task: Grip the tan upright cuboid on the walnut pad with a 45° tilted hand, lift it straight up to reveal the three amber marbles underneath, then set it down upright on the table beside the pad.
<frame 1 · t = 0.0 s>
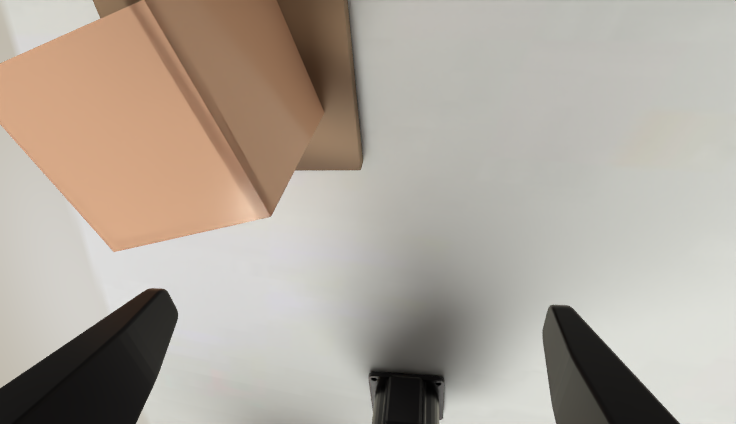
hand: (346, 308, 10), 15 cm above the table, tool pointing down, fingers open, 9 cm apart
walnut pad: (238, 60, 22), on the table
tan upright cuboid: (189, 100, 17), on the walnut pad, point 6 cm above the table
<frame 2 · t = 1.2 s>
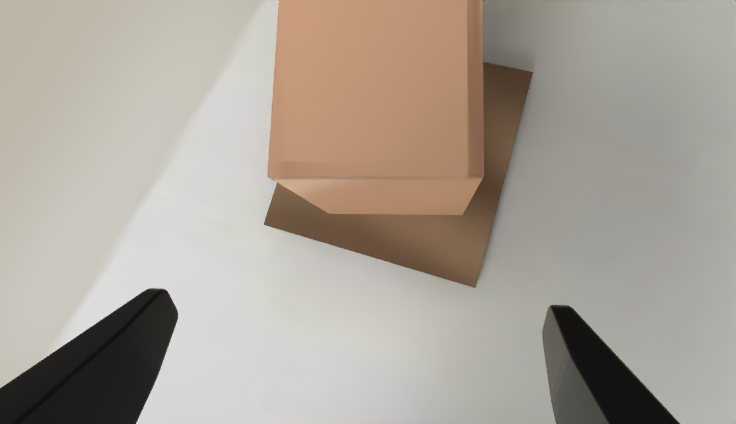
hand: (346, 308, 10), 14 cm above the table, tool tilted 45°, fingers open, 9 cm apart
walnut pad: (396, 154, 24), on the table
tan upright cuboid: (387, 120, 19), on the walnut pad, point 6 cm above the table
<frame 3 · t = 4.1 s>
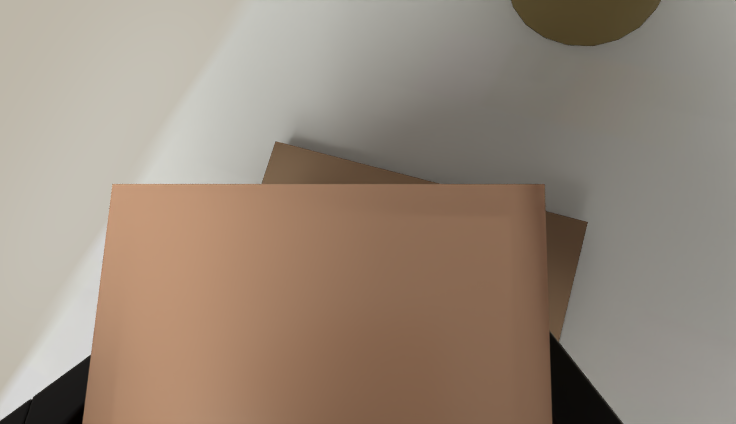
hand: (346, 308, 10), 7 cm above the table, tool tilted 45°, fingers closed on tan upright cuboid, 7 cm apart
walnut pad: (378, 332, 16), on the table
tan upright cuboid: (353, 360, 11), on the walnut pad, point 6 cm above the table, touching gripper
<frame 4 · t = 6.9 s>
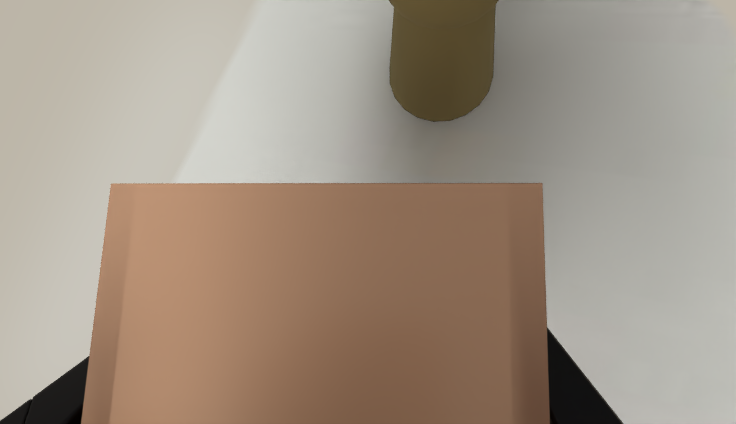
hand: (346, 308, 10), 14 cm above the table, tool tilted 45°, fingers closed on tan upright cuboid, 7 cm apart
olive rounded upright piece: (440, 74, 25), on the table
tan upright cuboid: (351, 360, 11), point 12 cm above the table, touching gripper
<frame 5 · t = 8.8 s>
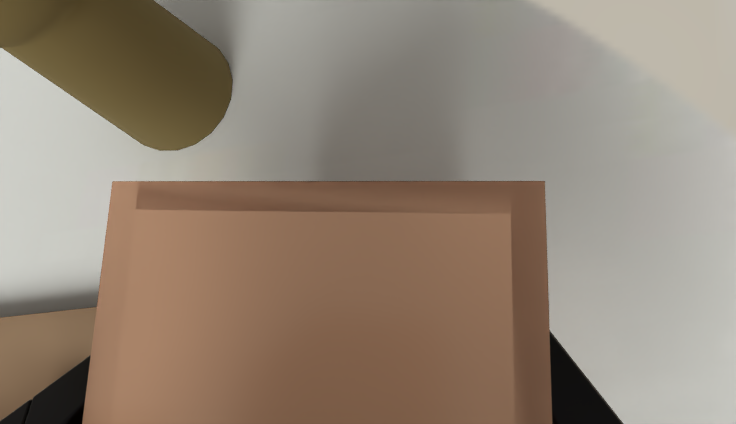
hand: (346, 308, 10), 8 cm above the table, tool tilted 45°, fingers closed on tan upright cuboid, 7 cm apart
olive rounded upright piece: (176, 93, 21), on the table
tan upright cuboid: (353, 359, 11), point 7 cm above the table, touching gripper
when the fingers open (7 cm above the table, at t = 10.1 s): tan upright cuboid drops 1 cm, on the table.
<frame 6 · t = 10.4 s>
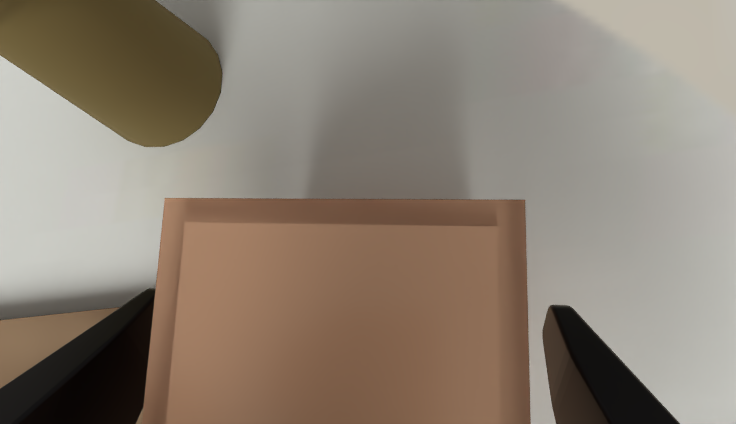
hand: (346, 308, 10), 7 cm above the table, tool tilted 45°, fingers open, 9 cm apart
olive rounded upright piece: (164, 86, 20), on the table
tan upright cuboid: (363, 349, 12), on the table
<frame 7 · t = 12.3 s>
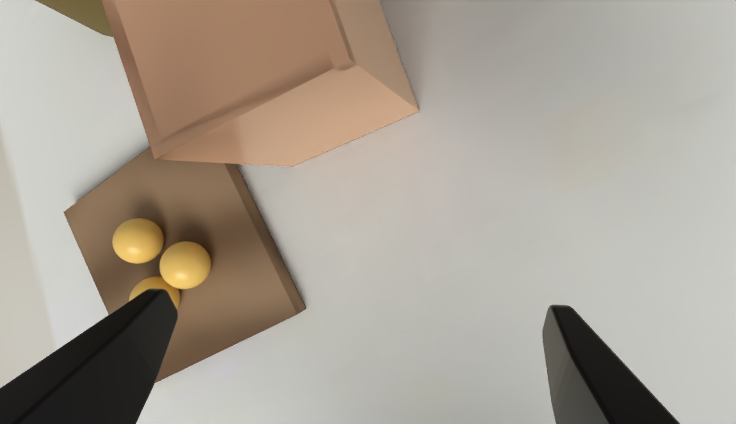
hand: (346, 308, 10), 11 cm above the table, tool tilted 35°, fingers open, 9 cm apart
walnut pad: (181, 255, 25), on the table
tan upright cuboid: (282, 46, 17), on the table
amber marbles: (154, 261, 23), on the walnut pad, point 1 cm above the table
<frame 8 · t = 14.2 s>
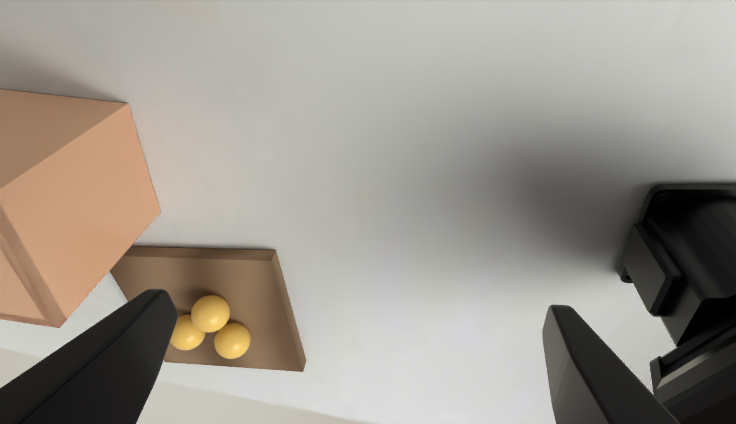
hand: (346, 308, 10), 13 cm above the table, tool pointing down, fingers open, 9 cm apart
walnut pad: (216, 308, 32), on the table
tan upright cuboid: (27, 199, 21), on the table
amber marbles: (204, 329, 30), on the walnut pad, point 1 cm above the table
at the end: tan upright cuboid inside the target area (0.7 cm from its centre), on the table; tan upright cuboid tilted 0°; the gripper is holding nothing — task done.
